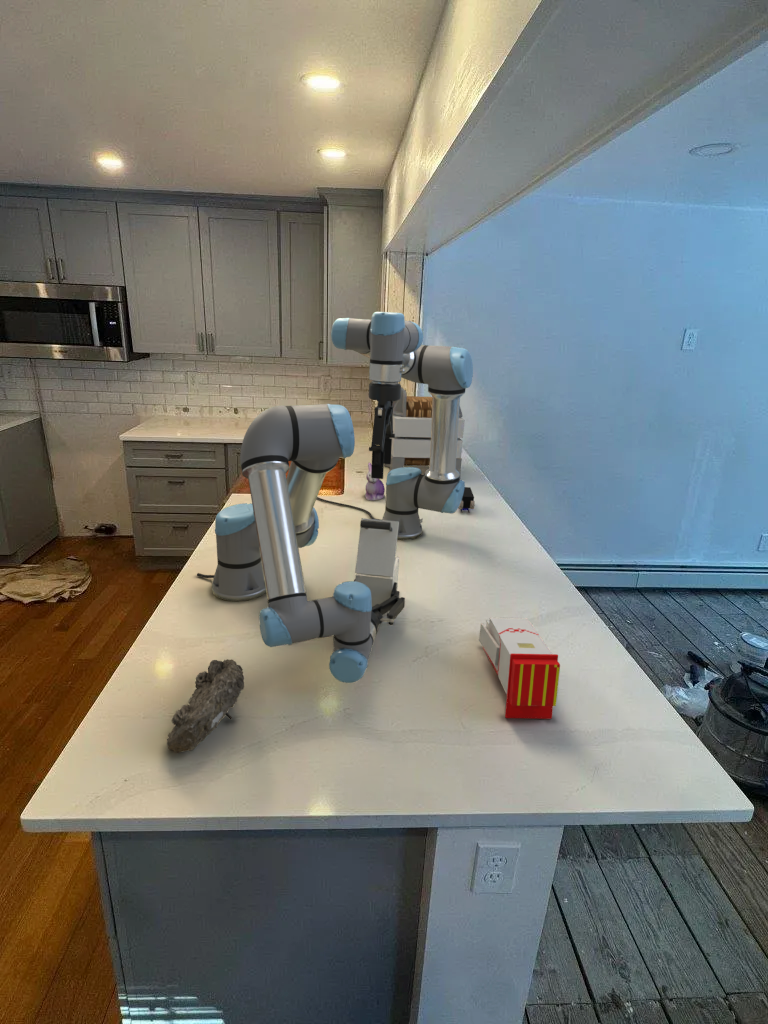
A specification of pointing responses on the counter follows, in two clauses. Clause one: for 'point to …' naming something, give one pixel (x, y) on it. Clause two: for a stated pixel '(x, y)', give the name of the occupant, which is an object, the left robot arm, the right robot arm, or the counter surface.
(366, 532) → the lid
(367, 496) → the figurine
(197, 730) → the fossil
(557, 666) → the toy
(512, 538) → the counter surface
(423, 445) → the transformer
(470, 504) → the figurine character
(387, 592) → the chest
